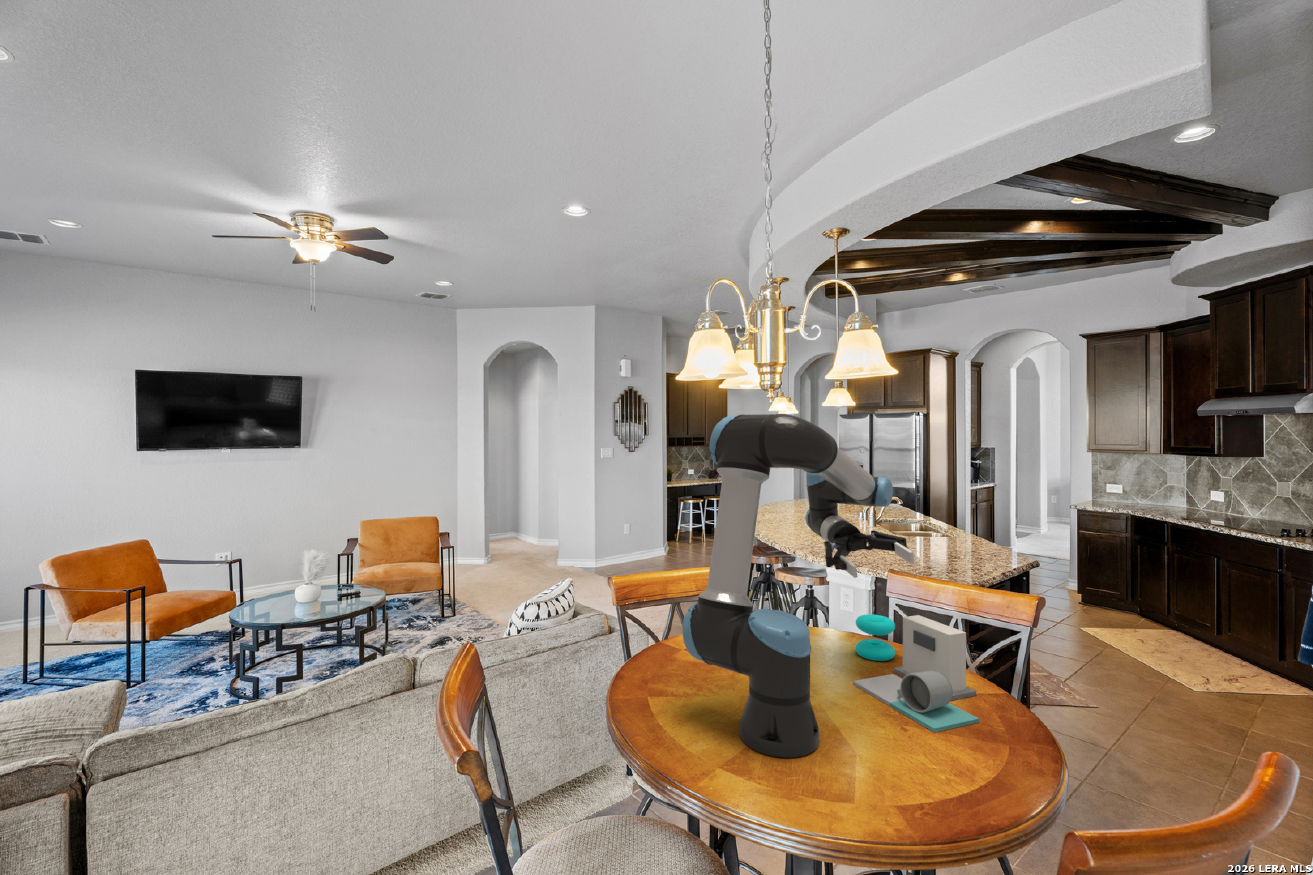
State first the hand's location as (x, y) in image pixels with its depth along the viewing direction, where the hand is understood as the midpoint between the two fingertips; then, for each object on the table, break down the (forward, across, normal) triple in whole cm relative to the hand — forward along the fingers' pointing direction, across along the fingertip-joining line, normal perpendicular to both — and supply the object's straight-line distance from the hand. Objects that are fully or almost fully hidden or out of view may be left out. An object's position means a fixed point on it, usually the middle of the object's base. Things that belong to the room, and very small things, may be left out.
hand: (884, 564), depth 128 cm
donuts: (-20, -5, -36) cm, 42 cm away
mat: (+6, +1, -30) cm, 31 cm away
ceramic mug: (+10, 0, -29) cm, 31 cm away
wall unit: (-2, -10, -34) cm, 35 cm away
